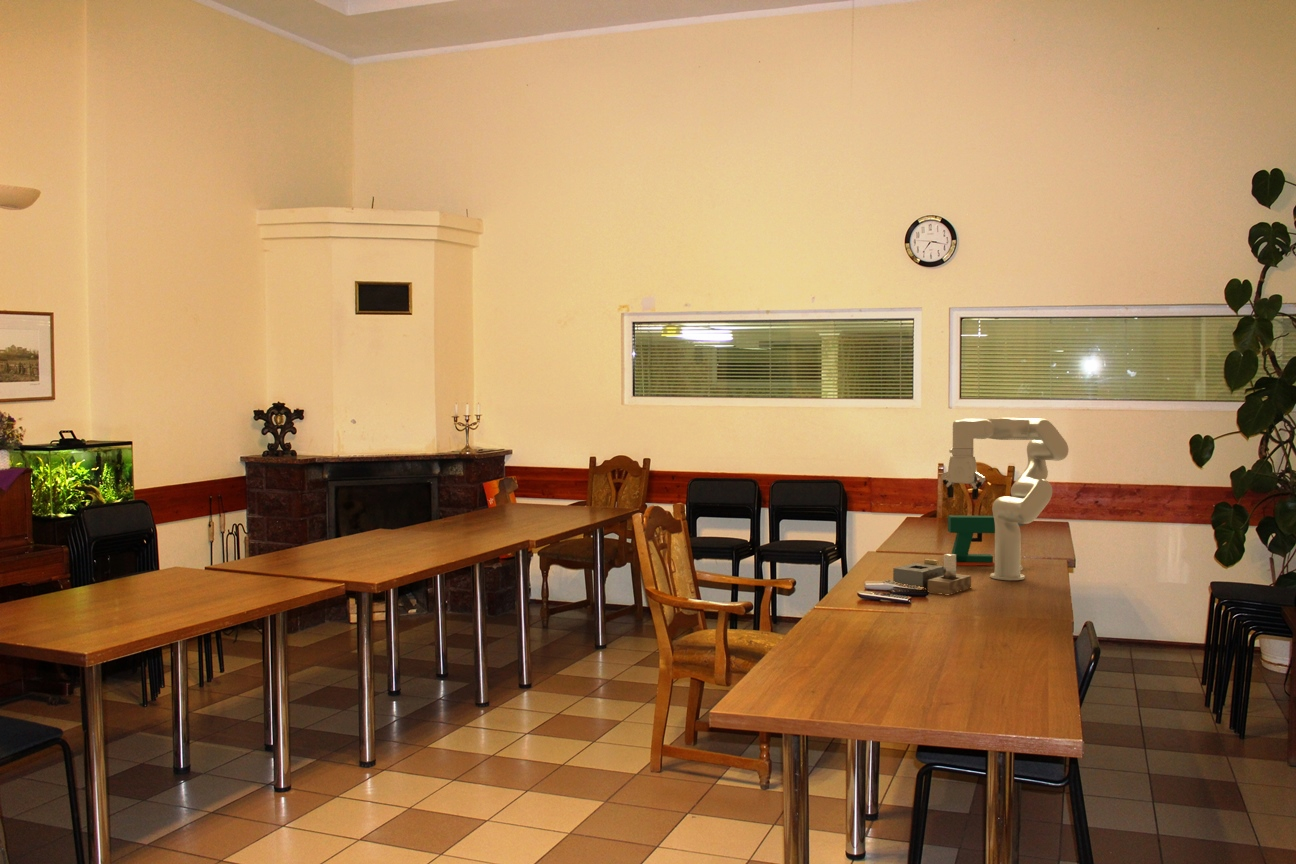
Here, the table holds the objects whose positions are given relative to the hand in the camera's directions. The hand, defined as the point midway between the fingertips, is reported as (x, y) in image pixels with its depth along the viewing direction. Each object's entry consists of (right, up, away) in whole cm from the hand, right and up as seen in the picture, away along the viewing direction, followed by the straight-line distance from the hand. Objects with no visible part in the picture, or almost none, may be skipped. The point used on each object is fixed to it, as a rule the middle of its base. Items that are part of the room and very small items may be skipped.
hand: (962, 498), depth 398 cm
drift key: (-13, -31, +2) cm, 33 cm away
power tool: (+23, -30, +44) cm, 58 cm away
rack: (-8, -33, -11) cm, 36 cm away
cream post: (-8, -33, -11) cm, 36 cm away
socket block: (-17, -33, -3) cm, 37 cm away
